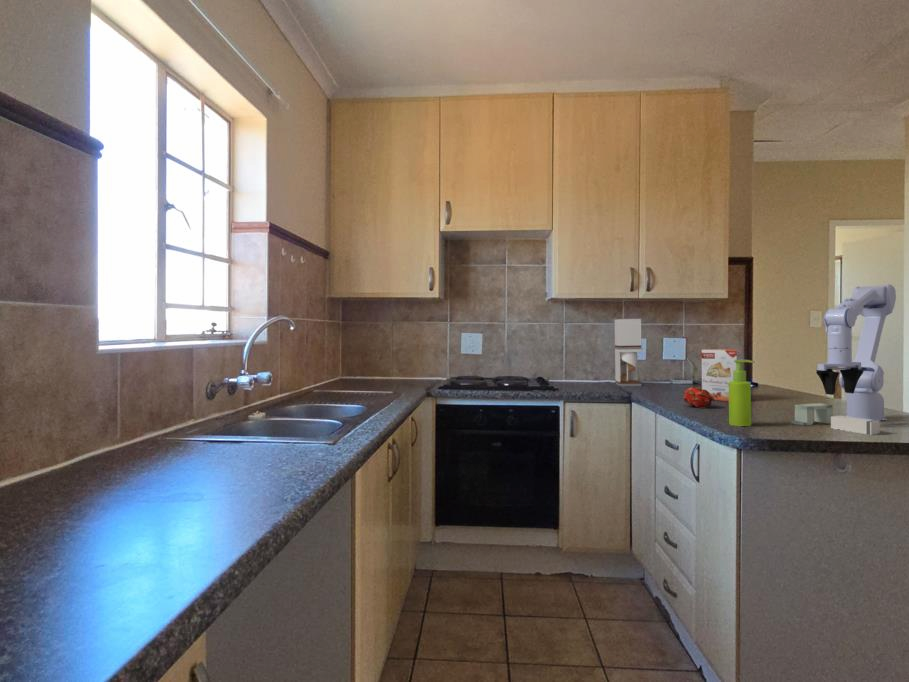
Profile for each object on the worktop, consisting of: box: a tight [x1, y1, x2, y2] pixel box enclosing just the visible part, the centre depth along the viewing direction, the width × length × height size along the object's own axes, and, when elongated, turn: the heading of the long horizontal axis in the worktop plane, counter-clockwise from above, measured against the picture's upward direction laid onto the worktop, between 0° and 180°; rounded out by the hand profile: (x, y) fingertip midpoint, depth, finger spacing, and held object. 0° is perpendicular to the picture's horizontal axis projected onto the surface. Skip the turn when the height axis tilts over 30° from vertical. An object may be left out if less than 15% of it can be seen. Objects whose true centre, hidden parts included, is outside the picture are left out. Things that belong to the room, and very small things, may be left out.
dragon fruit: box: [682, 385, 715, 409], centre depth 187 cm, size 8×8×12 cm
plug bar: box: [830, 415, 881, 436], centre depth 140 cm, size 4×10×4 cm, turn 24°
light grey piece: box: [614, 318, 643, 387], centre depth 263 cm, size 11×11×35 cm
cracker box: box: [701, 348, 744, 402], centre depth 203 cm, size 14×6×21 cm, turn 38°
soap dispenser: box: [728, 359, 755, 427], centre depth 152 cm, size 6×7×20 cm
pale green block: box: [790, 402, 834, 427], centre depth 152 cm, size 13×4×6 cm, turn 105°
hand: (839, 393), depth 149 cm, fingers open, 7 cm apart
